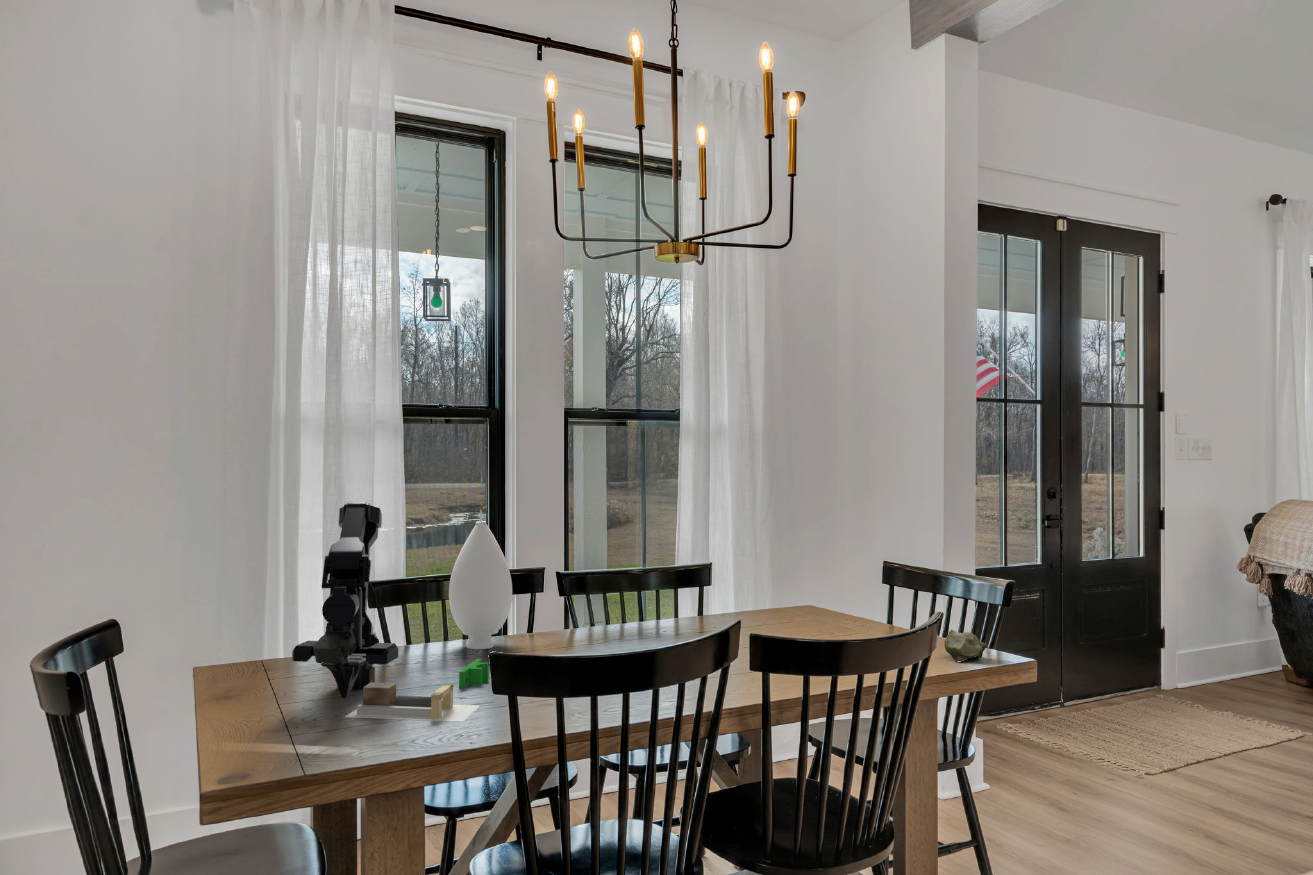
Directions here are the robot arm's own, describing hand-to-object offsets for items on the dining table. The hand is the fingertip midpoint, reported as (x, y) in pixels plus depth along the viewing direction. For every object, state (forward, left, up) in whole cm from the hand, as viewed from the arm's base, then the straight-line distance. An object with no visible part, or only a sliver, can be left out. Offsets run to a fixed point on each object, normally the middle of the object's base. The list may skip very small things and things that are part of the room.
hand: (345, 697), depth 164 cm
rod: (+14, 0, -2) cm, 14 cm away
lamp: (+8, +58, -3) cm, 59 cm away
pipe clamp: (+18, +22, -3) cm, 29 cm away
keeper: (+7, 0, -2) cm, 7 cm away
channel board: (+14, 0, -3) cm, 14 cm away
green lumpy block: (+128, +60, -3) cm, 142 cm away
